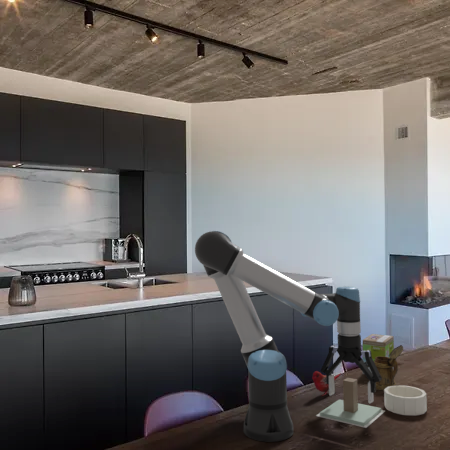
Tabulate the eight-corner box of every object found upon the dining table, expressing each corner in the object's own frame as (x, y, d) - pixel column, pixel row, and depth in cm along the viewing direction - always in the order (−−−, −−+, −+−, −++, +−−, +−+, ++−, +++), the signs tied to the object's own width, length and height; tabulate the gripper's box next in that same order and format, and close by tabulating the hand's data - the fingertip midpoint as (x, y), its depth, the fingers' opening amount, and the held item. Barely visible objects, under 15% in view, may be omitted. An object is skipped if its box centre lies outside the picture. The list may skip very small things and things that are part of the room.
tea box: (386, 378, 197) (385, 342, 198) (362, 374, 203) (361, 339, 203) (394, 368, 210) (393, 335, 210) (371, 365, 216) (370, 332, 216)
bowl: (379, 411, 161) (379, 393, 161) (392, 400, 171) (392, 383, 172) (419, 419, 153) (419, 400, 153) (430, 407, 164) (430, 389, 164)
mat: (315, 417, 157) (315, 415, 157) (337, 402, 170) (337, 400, 170) (366, 429, 147) (366, 427, 147) (385, 412, 160) (385, 410, 160)
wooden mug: (394, 395, 176) (393, 346, 176) (366, 386, 188) (365, 339, 188) (410, 391, 180) (409, 343, 181) (382, 382, 192) (381, 337, 192)
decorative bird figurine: (309, 399, 174) (308, 371, 174) (338, 388, 185) (337, 362, 185) (315, 401, 171) (314, 373, 172) (344, 390, 183) (344, 364, 183)
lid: (319, 415, 157) (319, 381, 157) (339, 402, 169) (338, 370, 169) (364, 426, 148) (363, 390, 148) (381, 411, 160) (380, 378, 160)
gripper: (390, 335, 154) (392, 402, 154) (319, 328, 170) (321, 388, 169) (382, 340, 148) (384, 409, 148) (309, 331, 164) (311, 394, 163)
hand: (350, 398), depth 159 cm, fingers open, 13 cm apart
